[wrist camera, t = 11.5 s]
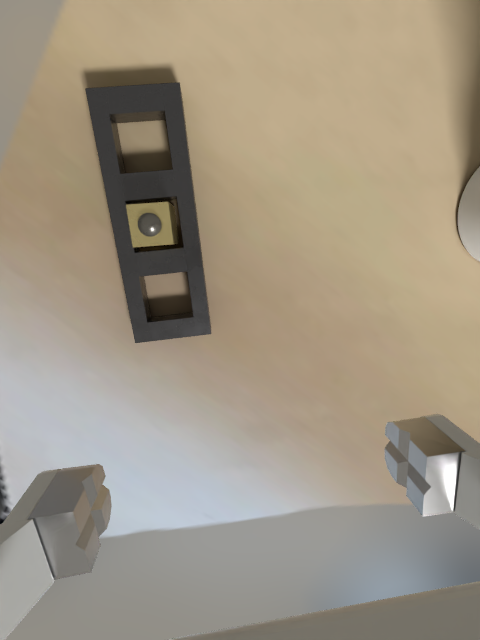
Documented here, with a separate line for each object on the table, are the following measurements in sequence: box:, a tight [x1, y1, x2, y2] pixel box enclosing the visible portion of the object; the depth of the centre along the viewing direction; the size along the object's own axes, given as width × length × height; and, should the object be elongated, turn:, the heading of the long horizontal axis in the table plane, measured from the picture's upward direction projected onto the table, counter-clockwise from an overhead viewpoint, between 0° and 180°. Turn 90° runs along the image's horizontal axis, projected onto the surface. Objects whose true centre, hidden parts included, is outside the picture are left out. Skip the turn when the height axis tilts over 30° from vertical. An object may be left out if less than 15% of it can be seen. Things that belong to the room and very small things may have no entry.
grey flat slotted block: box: [85, 82, 211, 343], centre depth 35 cm, size 9×26×2 cm, turn 6°
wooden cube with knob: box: [126, 202, 179, 247], centre depth 33 cm, size 4×4×6 cm
